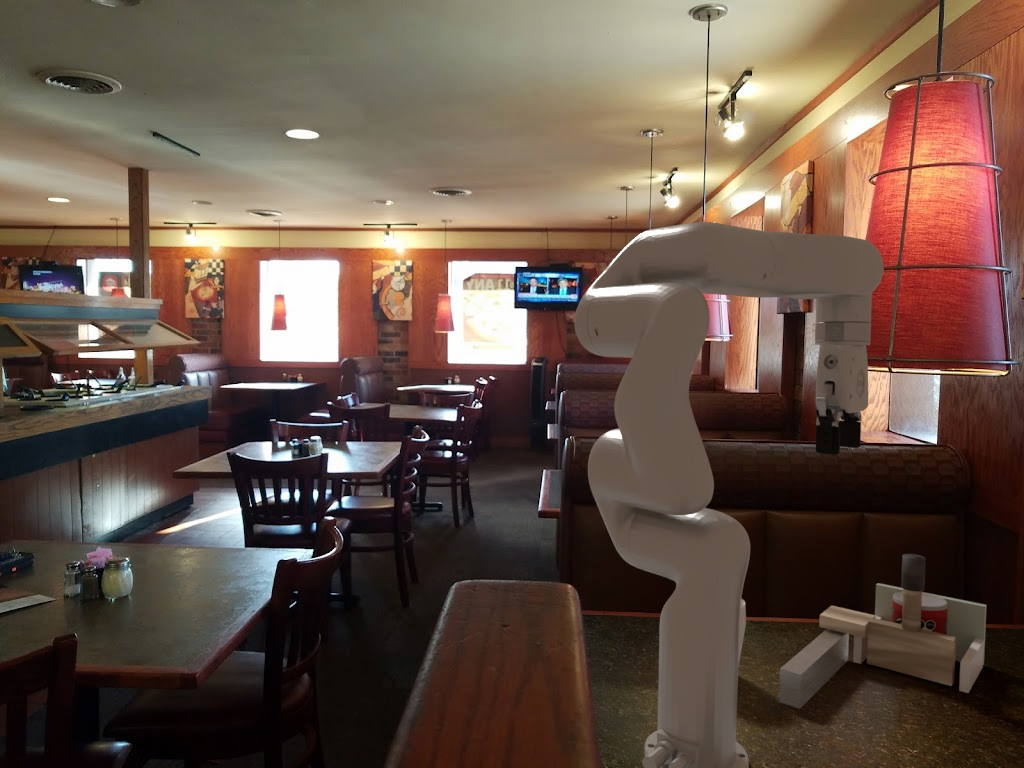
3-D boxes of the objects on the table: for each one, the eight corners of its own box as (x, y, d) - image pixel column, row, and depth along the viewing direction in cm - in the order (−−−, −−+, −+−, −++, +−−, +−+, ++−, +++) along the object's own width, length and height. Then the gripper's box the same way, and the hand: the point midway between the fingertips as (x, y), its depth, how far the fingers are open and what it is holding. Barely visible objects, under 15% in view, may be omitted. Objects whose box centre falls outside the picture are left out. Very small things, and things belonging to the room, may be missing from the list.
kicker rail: (799, 708, 106) (800, 674, 106) (778, 702, 108) (780, 668, 108) (847, 660, 123) (849, 630, 123) (829, 655, 125) (830, 626, 125)
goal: (968, 693, 112) (971, 627, 111) (853, 661, 122) (855, 602, 122) (983, 665, 122) (986, 604, 121) (875, 638, 132) (877, 583, 132)
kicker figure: (948, 690, 111) (953, 568, 110) (818, 655, 124) (822, 545, 123) (956, 677, 116) (961, 560, 115) (830, 644, 128) (833, 538, 127)
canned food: (879, 659, 123) (882, 594, 123) (913, 652, 127) (915, 588, 126) (921, 678, 116) (924, 609, 116) (956, 670, 120) (959, 602, 119)
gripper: (851, 334, 101) (846, 459, 102) (885, 336, 114) (881, 447, 115) (795, 334, 106) (791, 453, 107) (835, 336, 119) (831, 442, 120)
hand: (838, 450), depth 111 cm, fingers open, 9 cm apart
